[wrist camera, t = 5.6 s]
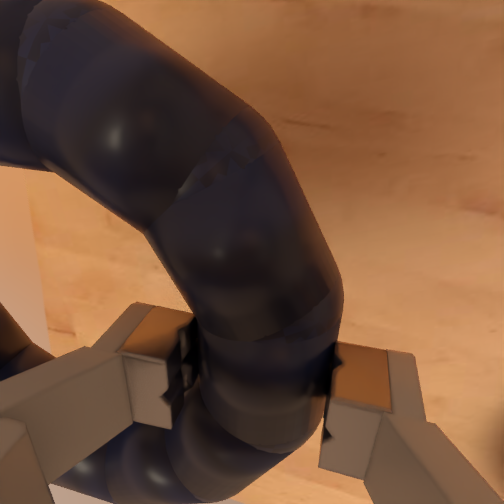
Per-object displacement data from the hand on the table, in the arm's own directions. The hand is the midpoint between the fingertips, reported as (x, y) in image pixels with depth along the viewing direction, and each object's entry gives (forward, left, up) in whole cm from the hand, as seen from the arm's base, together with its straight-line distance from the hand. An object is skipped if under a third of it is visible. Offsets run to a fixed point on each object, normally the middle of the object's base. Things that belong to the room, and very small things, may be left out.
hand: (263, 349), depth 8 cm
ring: (-2, -4, 0) cm, 5 cm away
